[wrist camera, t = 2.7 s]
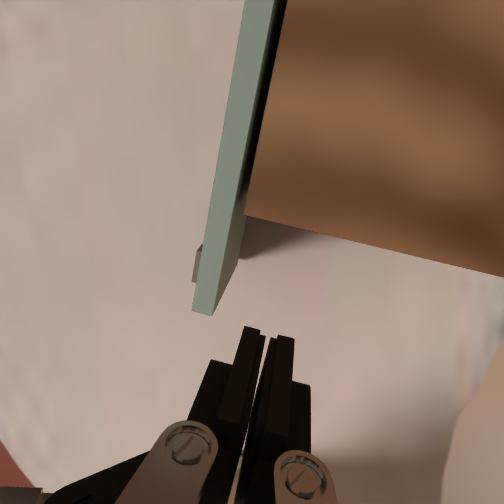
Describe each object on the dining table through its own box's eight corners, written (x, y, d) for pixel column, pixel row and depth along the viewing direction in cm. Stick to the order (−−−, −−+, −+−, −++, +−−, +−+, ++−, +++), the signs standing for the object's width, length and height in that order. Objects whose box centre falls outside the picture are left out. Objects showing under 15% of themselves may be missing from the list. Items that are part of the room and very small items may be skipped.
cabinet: (457, 234, 26) (517, 280, 19) (261, 187, 27) (243, 214, 19) (574, -40, 20) (727, -132, 13) (321, -88, 21) (328, -200, 14)
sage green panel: (237, 264, 29) (212, 316, 21) (214, 258, 29) (181, 308, 21) (317, -115, 21) (322, -248, 13) (285, -121, 21) (272, -257, 13)
